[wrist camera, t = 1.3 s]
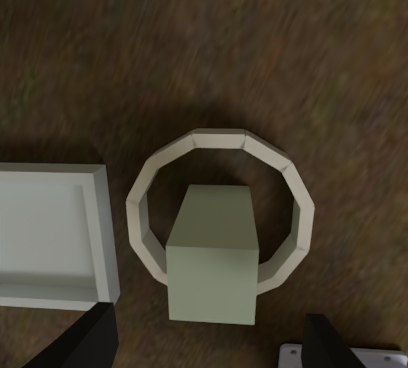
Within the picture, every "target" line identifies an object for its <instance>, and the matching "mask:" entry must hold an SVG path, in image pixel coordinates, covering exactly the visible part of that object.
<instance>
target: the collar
mask: <svg viewBox="0 0 408 368" xmlns="http://www.w3.org/2000/svg"><path fill="white" fill-rule="evenodd" d="M194 148H242V149H244V150H245V151H247V152H249V153H250V154H252V155H254V156H255V157H257V158H259V159H261V160H262V161H264V162H266V163H267V164H269V165H271V166H272V167H274V168H276V169H278V170H279V171H281V172H282V174H283V176H284V178H285V180H286V182H287V184H288V186H289V188H290V189H291V191H292V193H293V195H294V206H293V216H292V226H291V233H290V234H289V236H288V237H287V238H286V239H285V241H284V242H283V243H282V245H281V246H280V247H279V248H278V250H277V251H276V252H275V254H274V255H273V256H272V257H271V259H270V260H269V261H267V262H265V263H262V264H260V265H258V276H257V292H256V295H259V294H261V293H264V292H266V291H269V290H271V289H274V288H276V287H279V286H280V285H282V283H283V282H284V281H285V280H286V279H287V277H288V276H289V275H290V274H291V273H292V271H293V270H294V269H295V268H296V267H297V265H298V264H299V263H300V262H301V261H302V259H303V258H304V257H305V256H306V254H307V253H308V251H309V248H310V240H311V232H312V224H313V216H314V208H315V207H314V204H313V202H312V200H311V198H310V196H309V194H308V192H307V190H306V188H305V186H304V184H303V182H302V180H301V178H300V176H299V174H298V172H297V170H296V168H295V166H294V164H293V163H292V161H291V160H290V158H289V157H288V155H287V154H286V153H284V152H283V151H281V150H279V149H278V148H276V147H274V146H273V145H271V144H269V143H268V142H266V141H264V140H263V139H261V138H259V137H258V136H256V135H254V134H253V133H251V132H249V131H248V130H246V129H245V131H244V129H212V128H196V129H193V130H192V131H190V132H188V133H186V134H185V135H183V136H181V137H179V138H178V139H176V140H174V141H173V142H171V143H169V144H167V145H166V146H164V147H162V148H160V149H159V150H157V151H155V152H154V153H153V154H152V155H151V156H150V157H149V158H148V159H147V160H146V162H145V164H144V166H143V168H142V170H141V172H140V174H139V176H138V178H137V180H136V182H135V183H134V185H133V187H132V189H131V191H130V193H129V195H128V197H127V199H126V210H127V220H128V231H129V241H130V243H131V244H130V245H131V246H132V248H133V249H134V251H135V252H136V253H137V255H138V256H139V257H140V259H141V260H142V262H143V263H144V264H145V266H146V267H147V269H148V270H149V271H150V273H151V274H152V276H153V277H154V278H156V280H158V281H159V282H161V283H163V284H165V285H167V286H168V281H167V262H166V251H165V250H164V248H163V247H162V246H161V244H160V243H159V241H158V240H157V238H156V237H155V235H154V234H153V232H152V231H151V230H150V228H149V219H148V205H147V191H148V189H149V187H150V186H151V184H152V182H153V180H154V178H155V176H156V174H157V173H158V171H159V169H160V167H162V166H164V165H165V164H167V163H169V162H171V161H173V160H174V159H176V158H178V157H180V156H181V155H183V154H185V153H187V152H189V151H190V150H192V149H194Z"/></svg>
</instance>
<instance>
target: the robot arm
mask: <svg viewBox="0 0 408 368" xmlns="http://www.w3.org/2000/svg"><path fill="white" fill-rule="evenodd" d="M118 345H119V342H118V334H117V326H116V318H115V310H114V302H97V303H96V304H95V305H94V306H93V307H92V308H90V309H89V310H88V311H87V312H86V313H85V314H84V315H83V316H82V317H80V318H79V319H78V320H77V321H76V322H75V323H74V324H73V325H72V326H71V327H69V328H68V329H67V330H66V331H65V332H64V333H63V334H62V335H60V336H59V337H58V338H57V339H56V340H55V341H54V342H52V343H51V344H50V345H49V346H48V347H46V348H45V349H44V350H43V351H42V352H40V353H39V354H38V355H37V356H35V357H34V358H33V359H32V360H30V361H29V362H28V363H27V364H26V365H24V366H23V367H22V368H111V367H112V364H113V361H114V358H115V355H116V351H117V348H118ZM292 350H295V351H292ZM407 360H408V358H407V356H406V354H405V353H404V352H402V351H391V350H376V349H361V348H350V347H349V346H348V345H347V344H346V342H345V341H344V340H343V339H342V337H341V336H340V335H339V333H338V332H337V331H336V330H335V328H334V327H333V326H332V324H331V323H330V322H329V320H328V319H327V318H326V317H325V316H324V315H323V314H307V313H306V318H305V326H304V334H303V341H302V345H300V344H283V345H282V346H281V347H280V353H279V363H278V368H407V367H406V364H407Z"/></svg>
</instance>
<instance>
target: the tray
mask: <svg viewBox="0 0 408 368" xmlns="http://www.w3.org/2000/svg"><path fill="white" fill-rule="evenodd" d="M119 296H120V286H119V278H118V269H117V260H116V252H115V243H114V234H113V225H112V217H111V208H110V199H109V190H108V182H107V173H106V165H101V164H50V163H0V305H1V306H18V307H34V308H51V309H68V310H84V311H88V310H89V309H90V308H92V307H93V306H94V305H95V304H96V303H97V302H114V305H115V303H116V301H117V299H118V297H119Z"/></svg>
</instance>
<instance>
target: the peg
mask: <svg viewBox="0 0 408 368" xmlns="http://www.w3.org/2000/svg"><path fill="white" fill-rule="evenodd" d="M258 260H259V246H258V239H257V233H256V226H255V220H254V214H253V207H252V201H251V194H250V188H249V186H229V185H189V187H188V190H187V193H186V195H185V198H184V200H183V203H182V205H181V208H180V211H179V213H178V216H177V218H176V221H175V223H174V226H173V228H172V231H171V234H170V236H169V239H168V241H167V244H166V262H167V281H168V301H169V320H181V321H198V322H214V323H230V324H247V325H254V324H255V308H256V292H257V276H258Z"/></svg>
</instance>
